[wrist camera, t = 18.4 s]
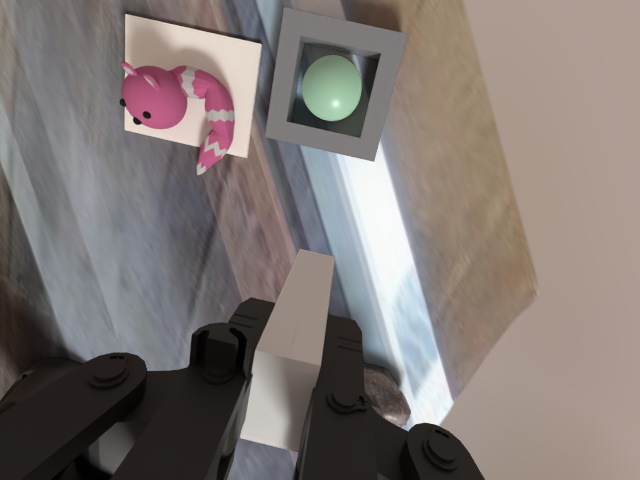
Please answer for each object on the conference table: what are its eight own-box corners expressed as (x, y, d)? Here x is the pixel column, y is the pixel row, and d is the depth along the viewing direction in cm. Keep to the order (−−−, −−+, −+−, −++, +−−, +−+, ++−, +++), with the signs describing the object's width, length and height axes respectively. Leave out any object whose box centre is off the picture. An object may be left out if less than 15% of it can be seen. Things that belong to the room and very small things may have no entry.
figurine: (419, 396, 47) (457, 546, 30) (362, 435, 50) (368, 589, 33) (355, 341, 45) (357, 468, 28) (301, 386, 48) (273, 523, 31)
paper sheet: (127, 129, 38) (124, 129, 38) (127, 15, 34) (125, 13, 34) (247, 157, 38) (246, 157, 38) (262, 44, 34) (261, 43, 34)
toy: (137, 142, 39) (82, 82, 29) (180, 89, 41) (143, 16, 31) (215, 185, 38) (186, 138, 28) (255, 129, 40) (241, 67, 30)
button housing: (271, 136, 37) (264, 136, 34) (289, 17, 33) (283, 6, 30) (372, 159, 37) (374, 161, 34) (403, 42, 33) (407, 34, 30)
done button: (301, 115, 36) (297, 113, 33) (312, 55, 34) (308, 49, 31) (353, 126, 36) (353, 126, 33) (367, 68, 34) (368, 62, 31)
